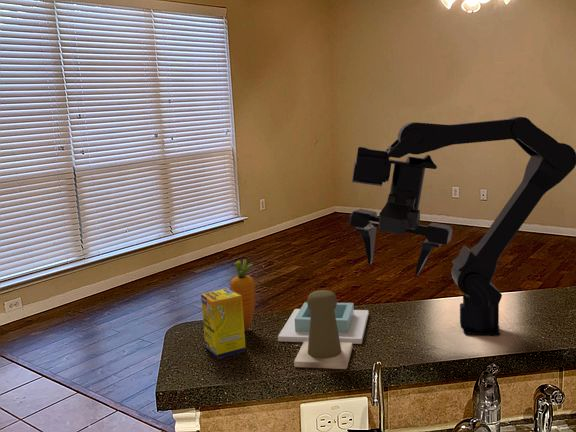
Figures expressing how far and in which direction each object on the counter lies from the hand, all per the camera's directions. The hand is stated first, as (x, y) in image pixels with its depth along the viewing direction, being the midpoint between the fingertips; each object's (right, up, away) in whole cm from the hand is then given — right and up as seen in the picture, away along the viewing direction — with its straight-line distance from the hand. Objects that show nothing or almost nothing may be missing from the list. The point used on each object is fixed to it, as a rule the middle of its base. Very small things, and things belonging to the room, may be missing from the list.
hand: (392, 269), depth 110 cm
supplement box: (-32, -15, -3) cm, 35 cm away
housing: (-13, -12, +6) cm, 19 cm away
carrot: (-29, -13, +7) cm, 32 cm away
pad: (-14, -15, -8) cm, 22 cm away
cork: (-14, -14, -8) cm, 21 cm away
